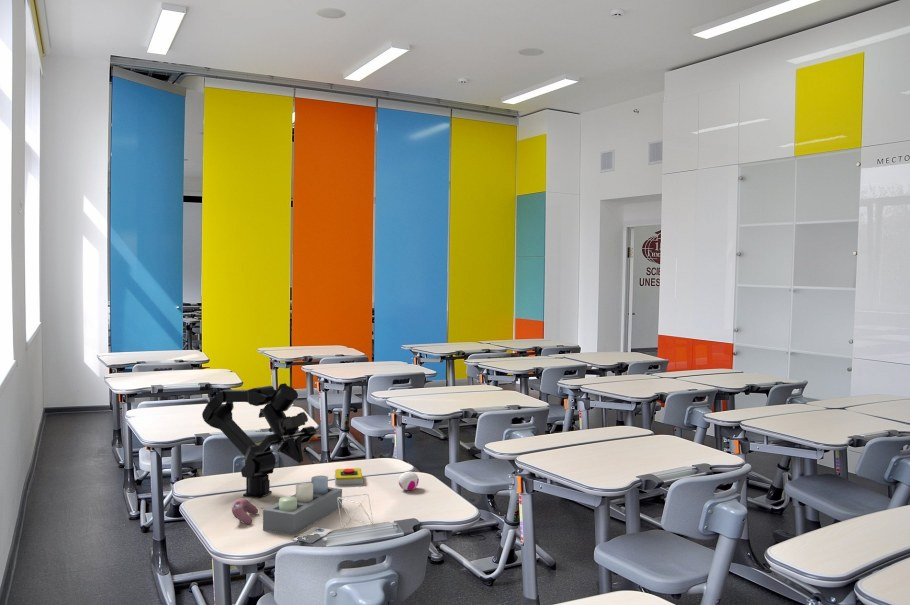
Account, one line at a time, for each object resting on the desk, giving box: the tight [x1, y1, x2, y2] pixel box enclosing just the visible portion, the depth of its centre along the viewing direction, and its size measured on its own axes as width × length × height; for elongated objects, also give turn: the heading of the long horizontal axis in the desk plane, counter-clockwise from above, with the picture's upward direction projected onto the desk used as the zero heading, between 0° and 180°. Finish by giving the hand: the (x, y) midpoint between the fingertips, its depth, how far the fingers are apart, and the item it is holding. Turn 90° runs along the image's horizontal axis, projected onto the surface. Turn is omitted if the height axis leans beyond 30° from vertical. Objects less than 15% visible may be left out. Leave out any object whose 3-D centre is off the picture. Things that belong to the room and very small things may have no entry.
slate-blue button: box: [310, 475, 329, 495], centre depth 205 cm, size 5×5×5 cm
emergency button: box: [334, 467, 364, 488], centre depth 236 cm, size 9×4×15 cm
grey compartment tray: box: [262, 486, 343, 536], centre depth 198 cm, size 10×25×6 cm, turn 159°
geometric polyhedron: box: [337, 493, 374, 530], centre depth 193 cm, size 10×9×8 cm
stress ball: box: [398, 471, 420, 492], centre depth 226 cm, size 8×8×7 cm
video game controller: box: [231, 497, 259, 525], centre depth 196 cm, size 10×5×7 cm, turn 5°
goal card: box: [292, 526, 334, 542], centre depth 184 cm, size 6×10×1 cm, turn 159°
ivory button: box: [295, 482, 313, 503], centre depth 198 cm, size 5×5×5 cm
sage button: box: [278, 495, 297, 512], centre depth 190 cm, size 5×5×5 cm
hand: (301, 462), depth 208 cm, fingers closed
